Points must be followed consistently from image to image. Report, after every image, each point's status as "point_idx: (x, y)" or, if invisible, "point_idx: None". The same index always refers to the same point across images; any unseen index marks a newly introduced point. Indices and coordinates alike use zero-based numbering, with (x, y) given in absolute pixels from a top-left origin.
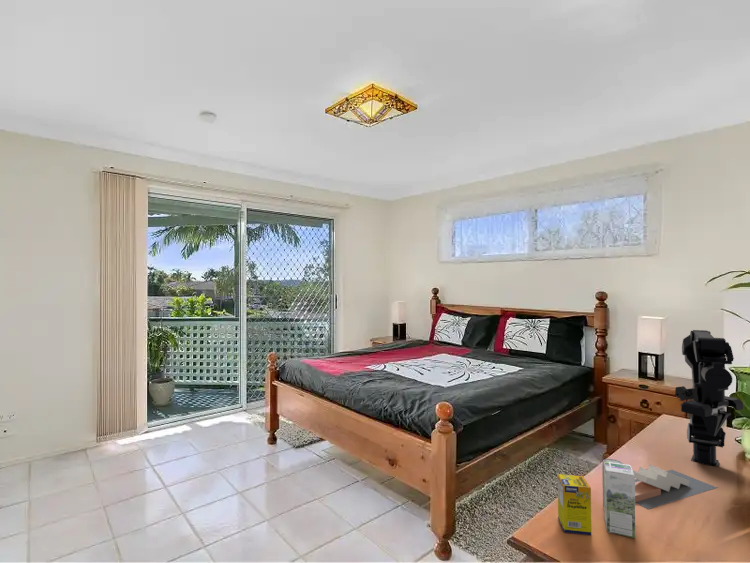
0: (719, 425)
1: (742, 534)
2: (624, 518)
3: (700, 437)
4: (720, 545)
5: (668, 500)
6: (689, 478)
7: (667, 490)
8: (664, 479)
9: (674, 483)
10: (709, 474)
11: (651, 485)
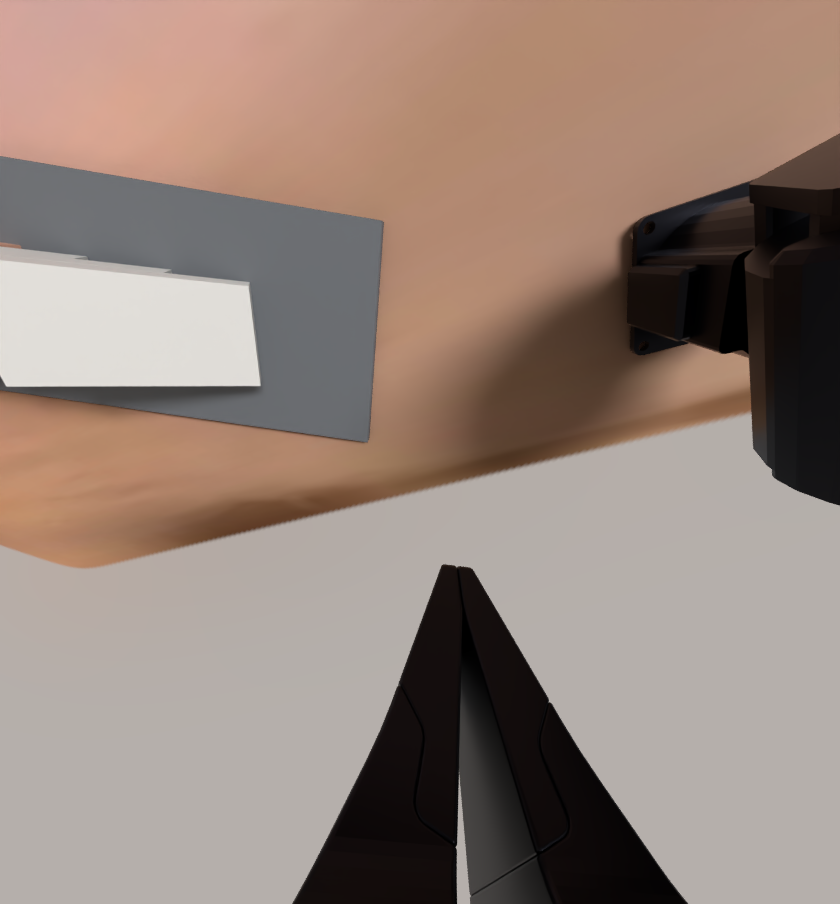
0: (459, 761)
1: (161, 550)
2: None
3: (748, 316)
4: (58, 541)
5: (62, 388)
6: (350, 340)
7: None
8: None
9: None
10: (516, 360)
11: None
